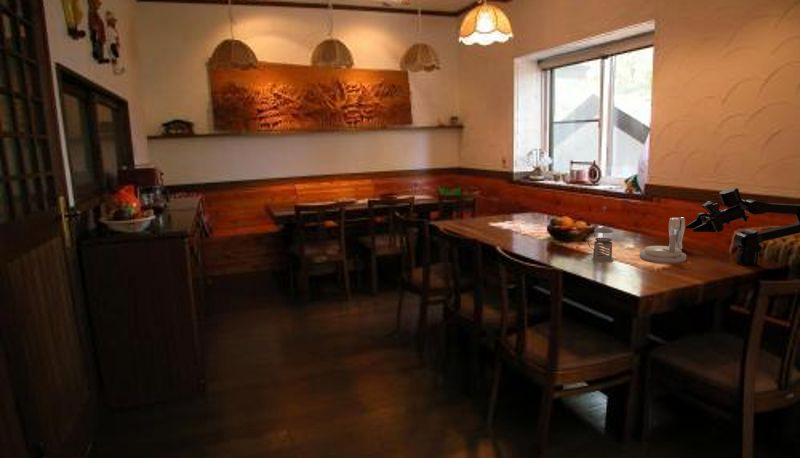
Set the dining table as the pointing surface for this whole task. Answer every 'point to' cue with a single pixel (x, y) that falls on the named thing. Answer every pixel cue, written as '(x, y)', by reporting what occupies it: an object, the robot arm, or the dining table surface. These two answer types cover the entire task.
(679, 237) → the beer glass
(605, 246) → the french press
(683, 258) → the base
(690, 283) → the dining table surface
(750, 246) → the robot arm
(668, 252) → the dial
